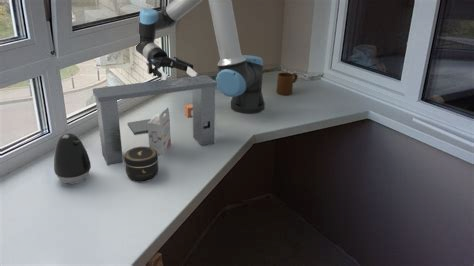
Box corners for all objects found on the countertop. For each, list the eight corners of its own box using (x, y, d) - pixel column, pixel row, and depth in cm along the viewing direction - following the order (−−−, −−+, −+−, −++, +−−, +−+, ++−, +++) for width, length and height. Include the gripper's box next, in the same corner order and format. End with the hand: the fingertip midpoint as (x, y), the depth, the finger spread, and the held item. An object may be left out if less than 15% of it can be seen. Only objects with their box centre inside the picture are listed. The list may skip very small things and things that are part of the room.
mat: (127, 125, 163) (127, 122, 162) (152, 120, 167) (152, 118, 167) (134, 134, 155) (134, 132, 154) (160, 130, 159) (160, 127, 159)
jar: (129, 185, 123) (126, 163, 120) (123, 170, 131) (121, 148, 128) (162, 179, 127) (160, 157, 123) (154, 164, 135) (153, 143, 132)
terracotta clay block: (184, 114, 158) (184, 105, 157) (194, 113, 160) (194, 103, 158) (200, 130, 146) (200, 119, 144) (210, 128, 148) (210, 117, 146)
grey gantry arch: (100, 154, 140) (92, 88, 130) (206, 134, 157) (206, 74, 147) (106, 166, 133) (98, 97, 123) (216, 144, 150) (216, 82, 140)
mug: (290, 88, 210) (291, 70, 206) (301, 92, 205) (303, 73, 201) (273, 92, 203) (274, 74, 199) (284, 96, 198) (285, 78, 194)
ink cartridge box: (158, 143, 149) (156, 105, 143) (171, 144, 148) (169, 106, 142) (148, 154, 141) (146, 114, 135) (162, 155, 140) (160, 115, 134)
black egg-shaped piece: (72, 192, 119) (64, 145, 112) (49, 181, 124) (40, 135, 117) (100, 177, 127) (94, 132, 120) (77, 167, 132) (70, 123, 125)
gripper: (179, 62, 183) (206, 83, 170) (126, 65, 167) (151, 89, 154) (182, 46, 179) (209, 67, 166) (128, 47, 163) (154, 71, 150)
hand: (182, 77), depth 160 cm, fingers open, 13 cm apart
